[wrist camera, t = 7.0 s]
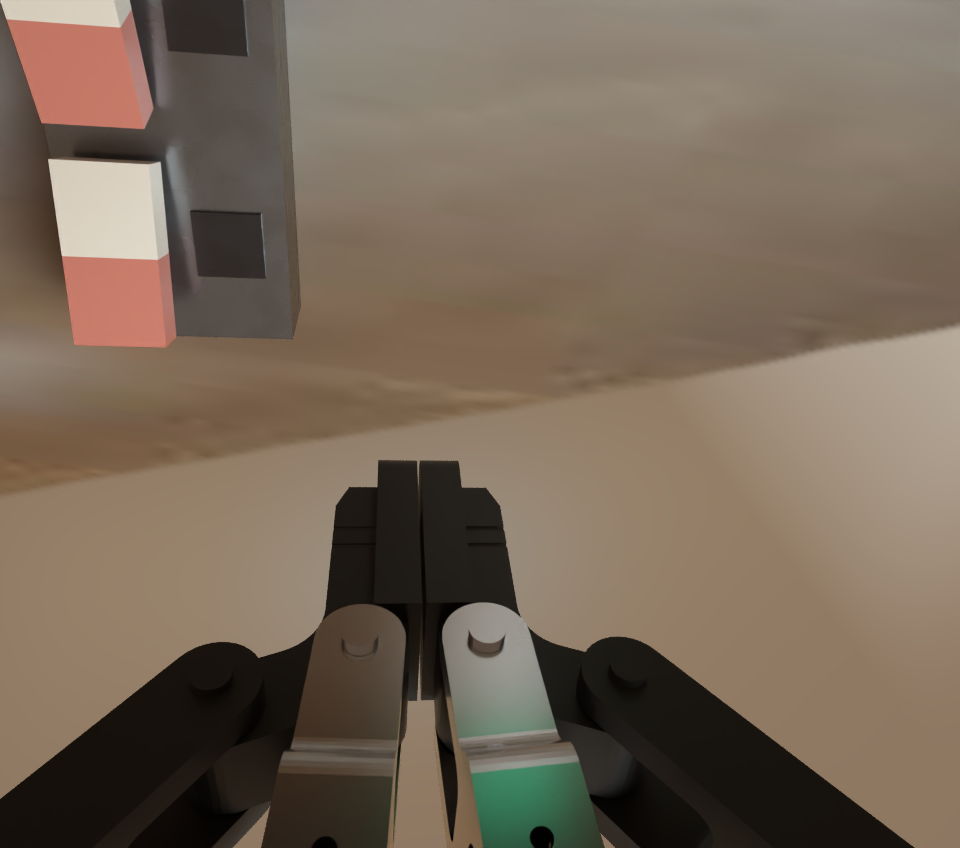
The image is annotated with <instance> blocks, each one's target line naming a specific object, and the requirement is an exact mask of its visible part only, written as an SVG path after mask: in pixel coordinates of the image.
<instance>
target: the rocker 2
mask: <svg viewBox="0 0 960 848" xmlns="http://www.w3.org/2000/svg"><path fill="white" fill-rule="evenodd" d="M48 162H49V169H50V176H51V183H52V190H53V197H54V204H55V211H56V218H57V225H58V232H59V239H60V246H61V253H62V260H63V267H64V274H65V281H66V289H67V296H68V303H69V310H70V317H71V324H72V331H73V338H74V345H95V346H133V347H167V346H168V345H169V344H170V343H171V342H172V341H173V340H174V339H175V338H176V326H175V315H174V304H173V293H172V282H171V271H170V260H169V249H168V238H167V227H166V216H165V205H164V194H163V183H162V172H161V162H155V161H136V160H117V159H99V158H80V157H59V158H52V159H48Z"/></svg>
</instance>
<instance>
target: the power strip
mask: <svg viewBox="0 0 960 848" xmlns="http://www.w3.org/2000/svg"><path fill="white" fill-rule="evenodd" d="M130 4H131V9H132V13H133V18H134V22H135V27H136V31H137V36H138V40H139V45H140V49H141V54H142V58H143V63H144V67H145V72H146V76H147V81H148V85H149V90H150V94H151V99H152V103H153V108H154V109H153V111H152V113H151V115H150V118H149V120H148V122H147V124H146V126H145V129H134V128H117V127H100V126H83V125H66V124H49V123H43V125H44V130H45V134H46V139H47V143H48V148H49V152H50V156H51V159H52V158H59V157H80V158H99V159H117V160H136V161H155V162H161V172H162V183H163V194H164V205H165V216H166V227H167V238H168V249H169V260H170V271H171V282H172V293H173V304H174V315H175V326H176V336H199V337H235V338H270V339H293V336H294V332H295V328H296V324H297V319H298V315H299V311H300V307H301V302H300V284H299V265H298V247H297V229H296V211H295V192H294V174H293V156H292V138H291V120H290V101H289V83H288V65H287V47H286V28H285V10H284V0H130Z"/></svg>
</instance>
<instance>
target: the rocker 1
mask: <svg viewBox="0 0 960 848" xmlns="http://www.w3.org/2000/svg"><path fill="white" fill-rule="evenodd" d="M0 1H1V4H2V7H3V10H4V13H5V16H6V19H7V22H8V25H9V28H10V31H11V34H12V37H13V40H14V43H15V46H16V49H17V52H18V55H19V58H20V61H21V64H22V67H23V70H24V72H25V75H26V78H27V81H28V84H29V87H30V90H31V93H32V96H33V99H34V102H35V105H36V108H37V111H38V114H39V117H40V120H41V123H49V124H66V125H83V126H100V127H117V128H134V129H145V126H146V124H147V122H148V120H149V118H150V115H151V113H152V111H153V109H154V108H153V103H152V99H151V94H150V90H149V85H148V81H147V76H146V72H145V67H144V63H143V58H142V54H141V49H140V45H139V40H138V36H137V31H136V27H135V22H134V18H133V13H132V9H131V4H130V0H0Z"/></svg>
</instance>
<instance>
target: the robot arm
mask: <svg viewBox="0 0 960 848" xmlns="http://www.w3.org/2000/svg"><path fill="white" fill-rule="evenodd" d="M419 653H420V684H421V700H434V702H435V703H434V704H435V733H434V749H435V757H436V765H437V772H438V780H439V788H440V796H441V804H442V812H443V820H444V828H445V835H446V844H447V848H605V847H604V844H603V840H602V837H601V834H602V835H603V836H604V837H605V838H606V839H607V840H609V842H610V843H611V844H612V845H613V846H614V847H615V848H914V847H913V846H911V845H910V844H909V843H907V842H906V841H905V840H903V839H902V838H901V837H899V836H898V835H897V834H896V833H894V832H893V831H892V830H890V829H889V828H888V827H886V826H885V825H884V824H883V823H881V822H880V821H879V820H877V819H876V818H875V817H873V816H872V815H871V814H869V813H868V812H867V811H865V810H864V809H863V808H861V807H860V806H859V805H857V804H856V803H855V802H854V801H852V800H851V799H850V798H848V797H847V796H846V795H844V794H843V793H842V792H841V791H839V790H838V789H837V788H835V787H834V786H833V785H831V784H830V783H829V782H827V781H826V780H825V779H824V778H822V777H821V776H820V775H818V774H817V773H816V772H814V771H813V770H812V769H810V768H809V767H808V766H806V765H805V764H804V763H803V762H801V761H800V760H798V759H797V758H796V757H795V756H793V755H792V754H791V753H789V752H788V751H786V749H784V748H783V747H781V746H780V745H779V744H778V743H776V742H775V741H774V740H772V739H771V738H770V737H768V736H767V735H765V733H763V732H762V731H761V730H759V729H758V728H757V727H755V726H754V725H753V724H751V723H750V722H749V721H747V720H746V719H745V718H743V717H742V716H741V715H740V714H738V713H737V712H736V711H734V710H733V709H732V708H730V707H729V706H728V705H726V704H725V703H724V702H722V701H721V700H720V699H719V698H717V697H716V696H715V695H713V694H712V693H710V692H709V691H708V690H707V689H706V688H704V687H703V686H702V685H700V684H699V683H698V682H696V681H695V680H694V679H692V678H691V677H690V676H688V675H687V674H686V673H684V672H683V671H682V670H681V669H679V668H678V667H677V666H675V665H674V664H673V663H671V662H670V661H669V660H667V659H666V658H665V657H664V656H662V655H661V654H660V653H658V652H657V651H656V650H654V649H653V648H651V647H650V646H648V645H647V644H644V643H642V642H641V641H638V640H635V639H631V638H627V637H609V638H605V639H601V640H599V641H597V642H596V643H594V644H592V645H591V646H590V647H589V648H588V649H587V651H586V652H583V651H579V650H575V649H571V648H568V647H564V646H560V645H556V644H554V643H551V642H549V641H547V640H545V639H543V638H541V637H539V636H538V635H536V634H535V633H534V632H533V631H532V630H530V629H529V627H528V626H527V625H526V624H525V622H524V621H523V620H522V618H521V616H520V614H519V612H518V608H517V603H516V597H515V592H514V585H513V580H512V573H511V568H510V562H509V556H508V550H507V547H506V538H505V533H504V530H503V521H502V515H501V510H500V505H499V504H498V503H497V502H496V500H495V499H494V498H493V496H492V495H491V494H490V493H489V491H488V490H487V489H486V488H462V487H461V478H460V469H459V463H458V461H420V464H419V485H418V477H417V461H396V460H395V461H394V460H393V461H392V460H379V461H378V487H377V488H376V487H349V489H348V490H347V491H346V493H345V494H344V495H343V497H342V498H341V499H340V501H339V502H338V504H337V505H336V511H335V520H334V531H333V540H332V550H331V560H330V570H329V582H328V590H327V600H326V610H325V615H324V617H323V620H322V622H321V623H320V625H319V627H318V628H317V629H316V631H315V632H314V633H313V634H312V635H311V636H310V637H308V638H307V639H306V640H305V641H303V642H301V643H300V644H298V645H296V646H294V647H292V648H290V649H287V650H284V651H281V652H278V653H275V654H271V655H268V656H264V657H261V658H258V657H257V656H256V654H255V653H253V652H252V651H251V650H250V649H248V648H246V647H244V646H242V645H239V644H236V643H229V642H216V643H210V644H205V645H202V646H199V647H196V648H194V649H192V650H190V651H188V652H187V653H185V654H184V655H182V656H181V657H179V658H178V659H177V660H176V661H174V662H173V663H172V664H170V665H169V666H168V667H167V668H166V669H164V670H163V671H162V672H160V673H159V674H158V675H157V676H155V677H154V678H153V679H152V680H150V681H149V682H148V683H147V684H145V685H144V686H143V687H142V688H140V689H139V690H138V691H136V692H135V693H134V694H132V695H131V696H130V697H129V698H127V699H126V700H125V701H124V702H123V703H121V704H120V705H119V706H117V707H116V708H115V709H114V710H112V711H111V712H110V713H109V714H107V715H106V716H105V717H103V718H102V719H101V720H100V721H98V722H97V723H96V724H95V725H93V726H92V727H91V728H90V729H88V730H87V731H86V732H84V733H83V734H82V735H81V736H79V737H78V738H77V739H76V740H74V741H73V742H72V743H70V744H69V745H68V746H67V747H65V749H63V750H62V751H60V752H59V753H58V754H57V755H55V756H54V757H53V758H52V759H50V760H49V761H48V762H46V763H45V764H44V765H43V766H42V767H40V768H39V769H38V770H36V771H35V772H34V773H33V774H31V775H30V776H29V777H27V778H26V779H25V780H24V781H22V782H21V783H20V784H19V785H17V786H16V787H15V788H14V789H12V790H11V791H10V792H9V793H7V794H6V795H5V796H3V797H2V798H1V799H0V848H233V847H234V846H235V845H236V844H237V842H238V841H239V840H240V839H241V838H242V837H243V836H244V835H245V834H246V833H247V832H248V831H249V830H250V829H251V827H252V826H253V825H254V824H255V823H256V822H257V821H258V820H259V819H260V818H261V817H262V815H263V814H264V813H265V812H266V810H267V809H268V808H269V806H270V809H269V814H268V818H267V823H266V827H265V832H264V837H263V841H262V846H261V848H394V840H395V827H396V814H397V801H398V788H399V775H400V762H401V749H402V741H403V738H404V736H405V733H406V725H407V703H408V701H417V690H418V672H419V671H418V670H419ZM600 833H601V834H600Z"/></svg>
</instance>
